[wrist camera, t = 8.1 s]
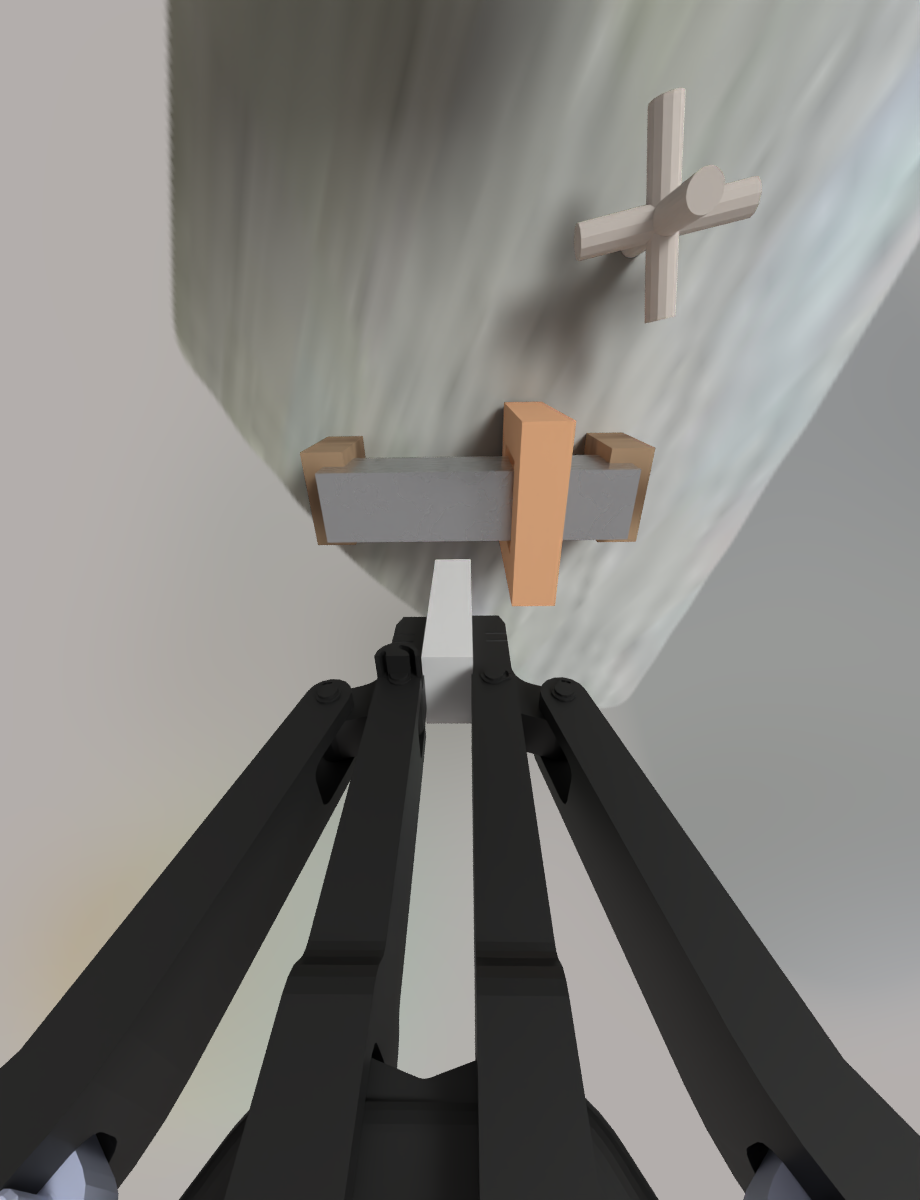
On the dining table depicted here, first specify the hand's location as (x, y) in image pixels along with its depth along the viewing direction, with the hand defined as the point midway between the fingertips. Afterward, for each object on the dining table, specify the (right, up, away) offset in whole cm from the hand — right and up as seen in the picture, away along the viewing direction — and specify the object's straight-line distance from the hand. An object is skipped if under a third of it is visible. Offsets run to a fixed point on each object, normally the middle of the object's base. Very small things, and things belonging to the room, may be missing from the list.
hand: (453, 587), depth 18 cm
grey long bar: (+2, +8, +15) cm, 18 cm away
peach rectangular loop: (+5, +11, +19) cm, 22 cm away
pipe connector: (+12, +25, +11) cm, 30 cm away
